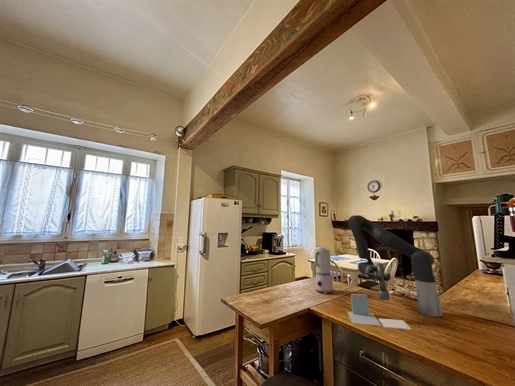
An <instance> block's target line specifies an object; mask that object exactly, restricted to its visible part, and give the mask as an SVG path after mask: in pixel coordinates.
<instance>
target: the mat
mask: <svg viewBox="0 0 515 386" xmlns="http://www.w3.org/2000/svg"><path fill="white" fill-rule="evenodd" d="M347 315H348V317H349V319H350V320H351V323H352V324H360V325H371V326H372V325H373V326H381V322H380V321H379V319H377V317H376V316H375V314H374V313H370V312H369V315H360V314H353V313H352V311H347Z"/></svg>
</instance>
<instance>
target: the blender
mask: <svg viewBox="0 0 515 386" xmlns="http://www.w3.org/2000/svg"><path fill="white" fill-rule="evenodd" d="M331 262H332V261H331V252H330V249H329V248H326V247H325V246H319V247H317V248H314V264H315V268H316V274H315V279H314V280H315V292H317V293H318V292H320V293H323V294H324V295H327V294H328V293H332V292H334V288H333V286H334V284H333V276H332V275H331Z"/></svg>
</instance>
